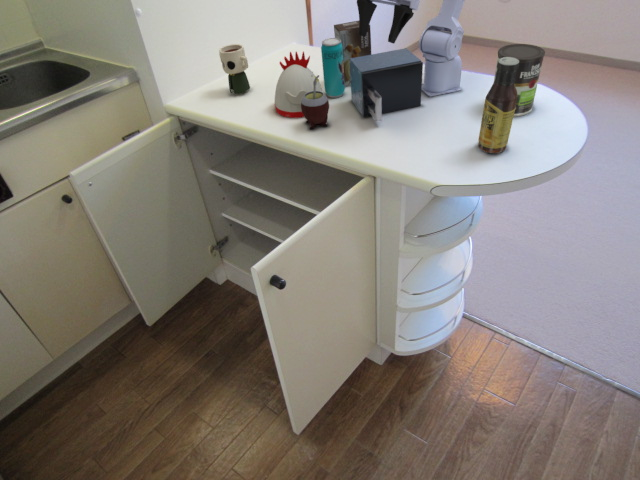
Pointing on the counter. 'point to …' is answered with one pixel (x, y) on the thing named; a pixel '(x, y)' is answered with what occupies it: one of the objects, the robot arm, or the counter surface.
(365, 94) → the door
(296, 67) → the white chicken figure
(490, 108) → the sauce bottle
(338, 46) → the beverage can
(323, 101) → the mate gourd
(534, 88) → the coffee can
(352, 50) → the coffee box
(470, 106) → the counter surface
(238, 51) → the character mug
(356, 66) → the blue-gray cabinet body
